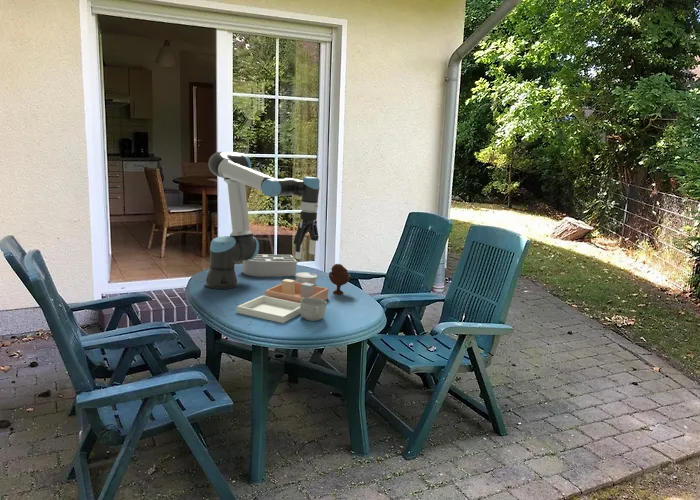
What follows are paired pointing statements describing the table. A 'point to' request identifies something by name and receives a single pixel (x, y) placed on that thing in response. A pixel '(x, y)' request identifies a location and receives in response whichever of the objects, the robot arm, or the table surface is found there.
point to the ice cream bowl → (339, 277)
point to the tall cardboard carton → (288, 287)
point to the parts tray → (270, 309)
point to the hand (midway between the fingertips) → (305, 256)
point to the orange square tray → (296, 293)
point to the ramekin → (306, 277)
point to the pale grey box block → (307, 290)
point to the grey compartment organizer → (270, 265)
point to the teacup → (312, 308)
